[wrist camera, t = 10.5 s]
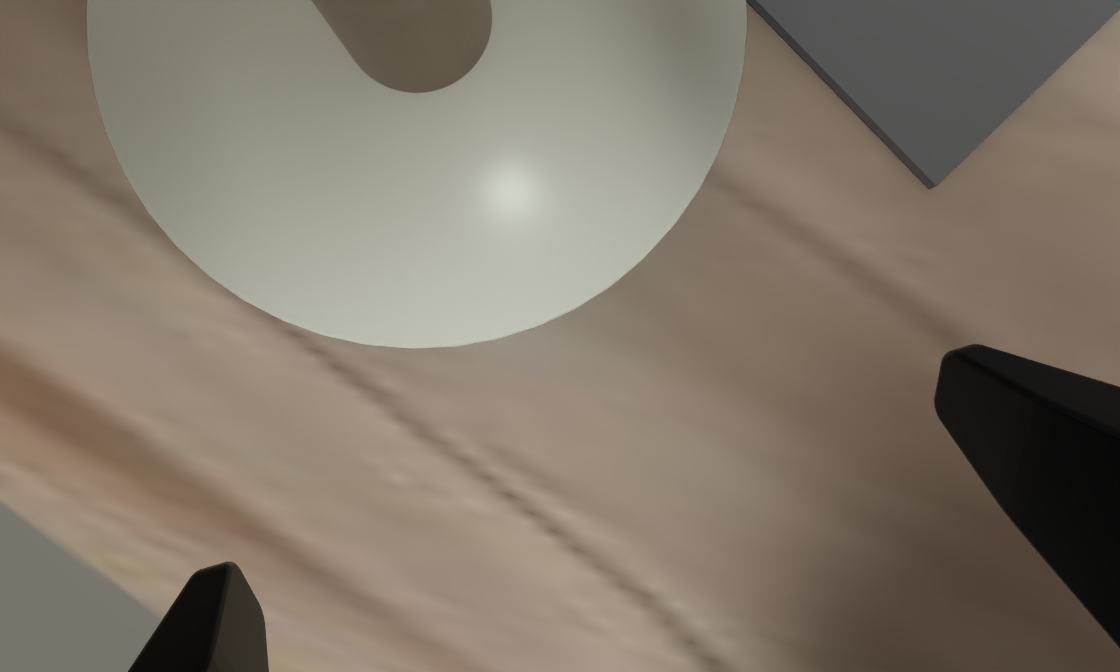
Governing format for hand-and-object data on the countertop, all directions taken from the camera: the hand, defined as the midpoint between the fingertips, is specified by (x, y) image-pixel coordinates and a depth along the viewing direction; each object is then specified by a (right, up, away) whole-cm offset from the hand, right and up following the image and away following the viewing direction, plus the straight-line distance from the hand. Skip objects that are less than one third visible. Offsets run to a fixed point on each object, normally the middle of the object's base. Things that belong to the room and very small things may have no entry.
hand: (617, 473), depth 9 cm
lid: (-4, +8, +8) cm, 12 cm away
